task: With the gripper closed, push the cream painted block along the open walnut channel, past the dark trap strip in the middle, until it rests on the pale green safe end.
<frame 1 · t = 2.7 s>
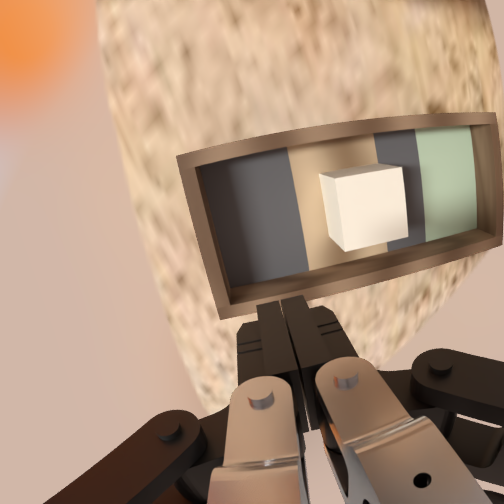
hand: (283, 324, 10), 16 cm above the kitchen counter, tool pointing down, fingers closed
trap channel: (361, 195, 25), on the kitchen counter
cream block: (354, 199, 24), point 1 cm above the kitchen counter, touching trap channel
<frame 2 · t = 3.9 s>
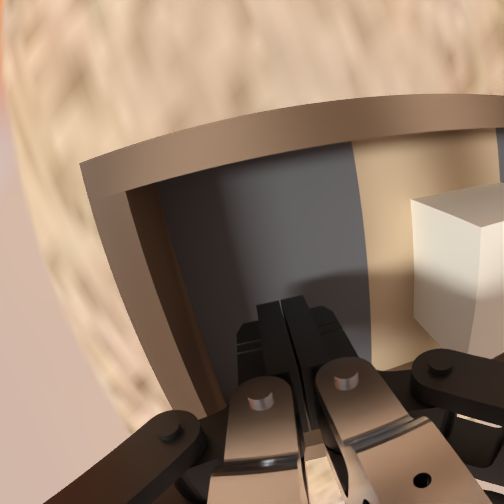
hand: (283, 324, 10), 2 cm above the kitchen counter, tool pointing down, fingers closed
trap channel: (465, 237, 12), on the kitchen counter
cream block: (461, 248, 11), point 1 cm above the kitchen counter, touching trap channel
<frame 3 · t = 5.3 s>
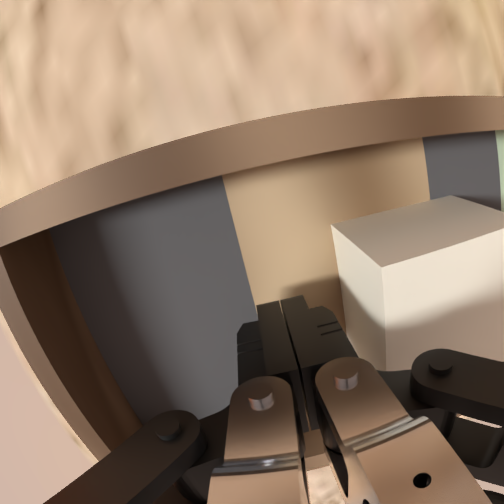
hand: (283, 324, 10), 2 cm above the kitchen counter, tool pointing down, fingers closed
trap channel: (389, 264, 12), on the kitchen counter
cream block: (402, 273, 11), point 1 cm above the kitchen counter, touching gripper, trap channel
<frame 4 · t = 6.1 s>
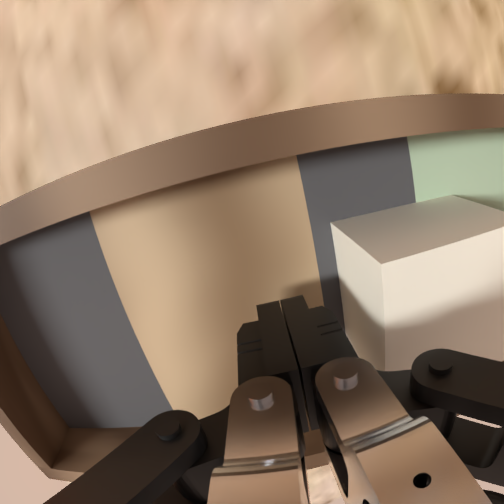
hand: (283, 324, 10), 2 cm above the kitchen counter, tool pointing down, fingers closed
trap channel: (277, 291, 12), on the kitchen counter
cream block: (401, 272, 11), point 1 cm above the kitchen counter, touching gripper, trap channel
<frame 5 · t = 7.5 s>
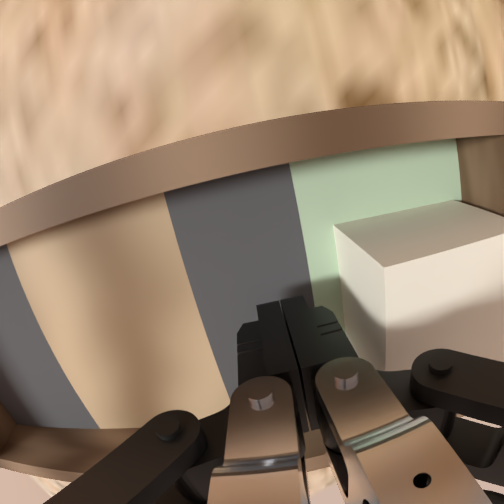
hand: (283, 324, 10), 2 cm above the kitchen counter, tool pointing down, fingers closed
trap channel: (168, 318, 12), on the kitchen counter
cream block: (402, 276, 11), point 1 cm above the kitchen counter, touching gripper, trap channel
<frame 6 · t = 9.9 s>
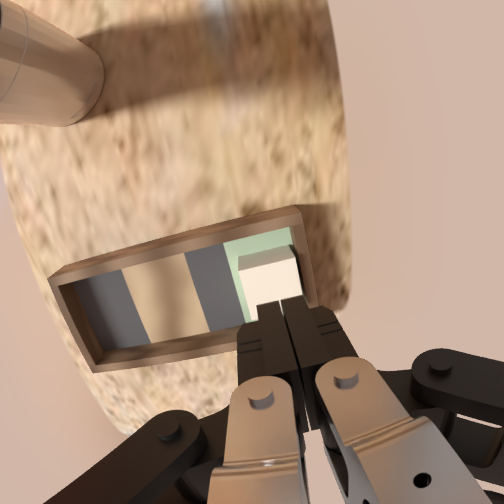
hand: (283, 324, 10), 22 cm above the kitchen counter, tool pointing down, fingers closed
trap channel: (183, 290, 34), on the kitchen counter
cream block: (268, 273, 33), point 1 cm above the kitchen counter, touching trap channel
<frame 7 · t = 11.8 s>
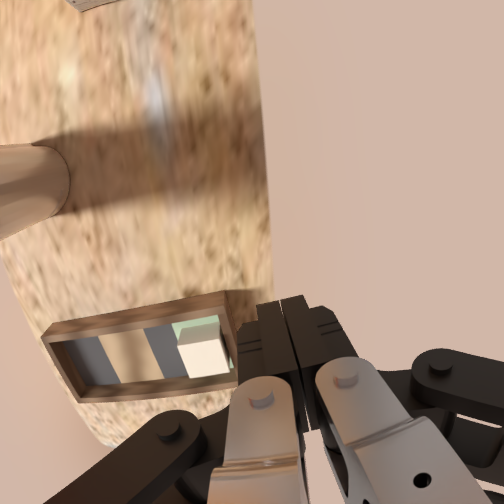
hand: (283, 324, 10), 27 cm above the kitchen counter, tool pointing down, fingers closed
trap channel: (143, 347, 41), on the kitchen counter
cream block: (205, 341, 40), point 1 cm above the kitchen counter, touching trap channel
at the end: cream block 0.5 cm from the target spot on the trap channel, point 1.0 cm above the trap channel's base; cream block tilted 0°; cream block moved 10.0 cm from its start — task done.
